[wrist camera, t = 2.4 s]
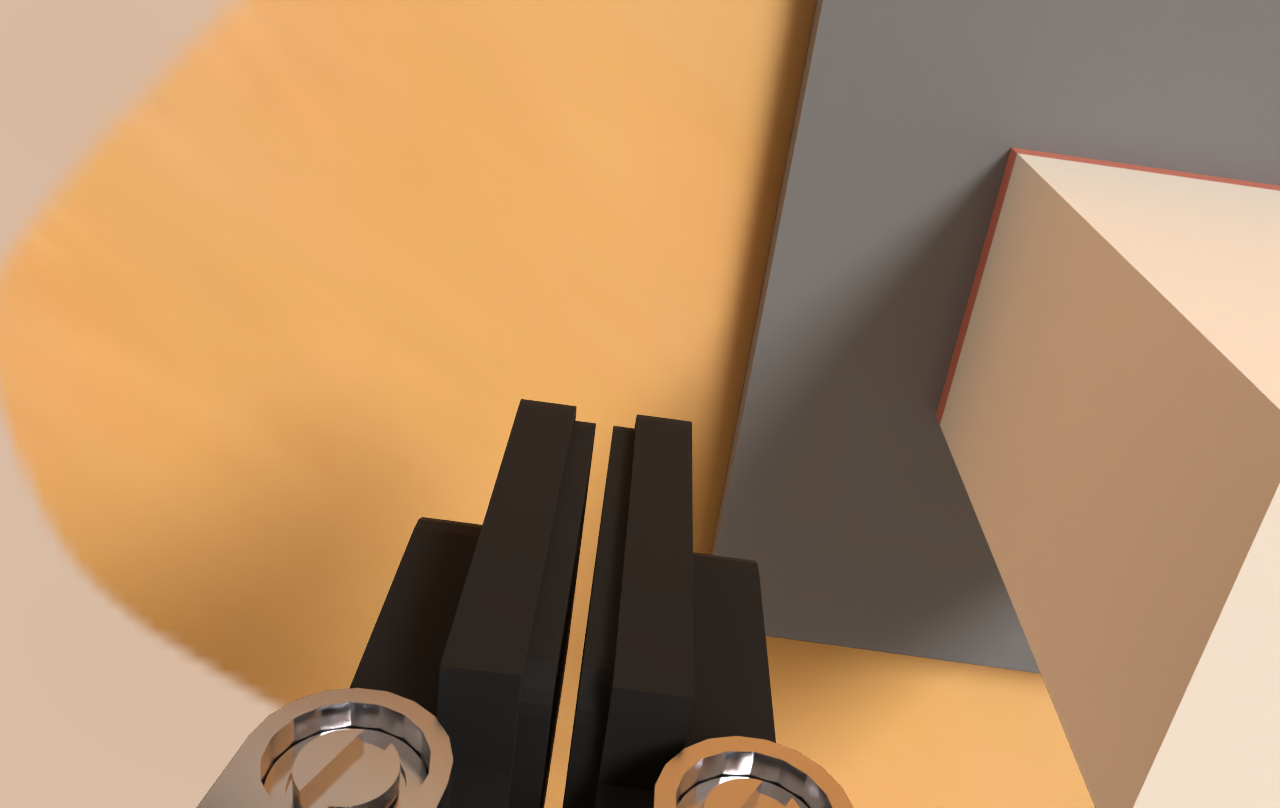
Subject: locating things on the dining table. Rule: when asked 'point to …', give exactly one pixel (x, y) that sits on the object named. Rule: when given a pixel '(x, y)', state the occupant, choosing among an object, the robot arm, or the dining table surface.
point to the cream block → (1134, 465)
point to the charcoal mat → (940, 280)
